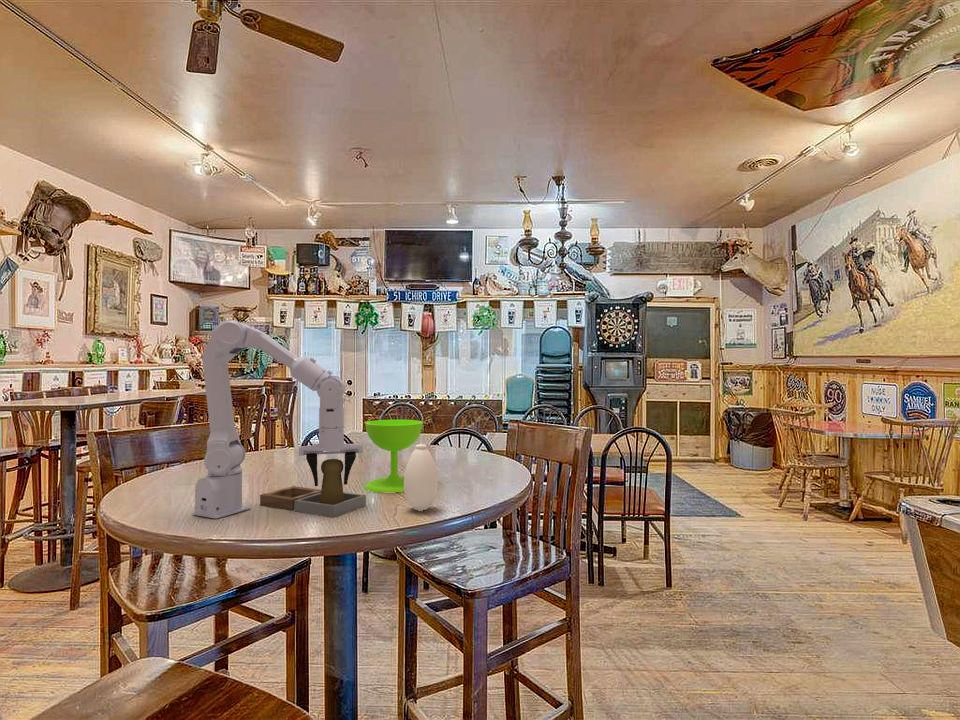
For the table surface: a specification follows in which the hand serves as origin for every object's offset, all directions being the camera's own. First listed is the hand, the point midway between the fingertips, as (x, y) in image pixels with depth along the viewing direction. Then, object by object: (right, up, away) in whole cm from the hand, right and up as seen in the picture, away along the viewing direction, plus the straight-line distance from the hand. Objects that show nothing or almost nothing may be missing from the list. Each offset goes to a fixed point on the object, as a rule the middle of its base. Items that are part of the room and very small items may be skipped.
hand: (331, 484), depth 127 cm
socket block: (-11, -6, +5) cm, 13 cm away
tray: (0, -6, 0) cm, 6 cm away
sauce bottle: (+22, -6, -1) cm, 22 cm away
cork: (0, -5, +1) cm, 5 cm away
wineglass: (+11, -6, +23) cm, 27 cm away
